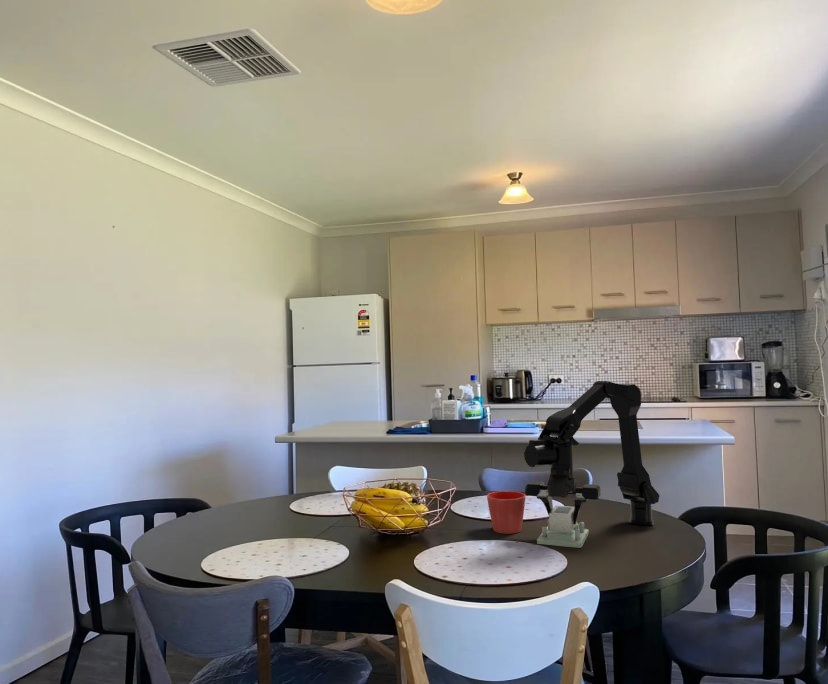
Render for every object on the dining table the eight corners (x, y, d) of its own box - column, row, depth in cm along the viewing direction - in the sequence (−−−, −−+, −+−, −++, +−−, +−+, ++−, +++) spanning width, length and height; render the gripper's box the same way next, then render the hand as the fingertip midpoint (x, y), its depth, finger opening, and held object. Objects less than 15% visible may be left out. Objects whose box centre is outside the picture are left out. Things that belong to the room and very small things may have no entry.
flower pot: (481, 532, 169) (480, 497, 170) (495, 523, 179) (494, 489, 179) (519, 537, 164) (518, 500, 165) (531, 527, 174) (530, 492, 174)
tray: (547, 529, 171) (547, 516, 171) (588, 533, 167) (588, 520, 167) (537, 543, 158) (536, 529, 158) (581, 547, 154) (580, 533, 154)
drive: (556, 522, 168) (555, 505, 168) (576, 523, 166) (576, 506, 166) (549, 530, 160) (549, 512, 160) (571, 532, 157) (570, 514, 158)
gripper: (519, 466, 160) (521, 527, 159) (594, 470, 152) (596, 534, 152) (529, 460, 170) (530, 517, 169) (599, 463, 162) (601, 523, 162)
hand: (563, 523), depth 163 cm, fingers closed on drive, 5 cm apart
